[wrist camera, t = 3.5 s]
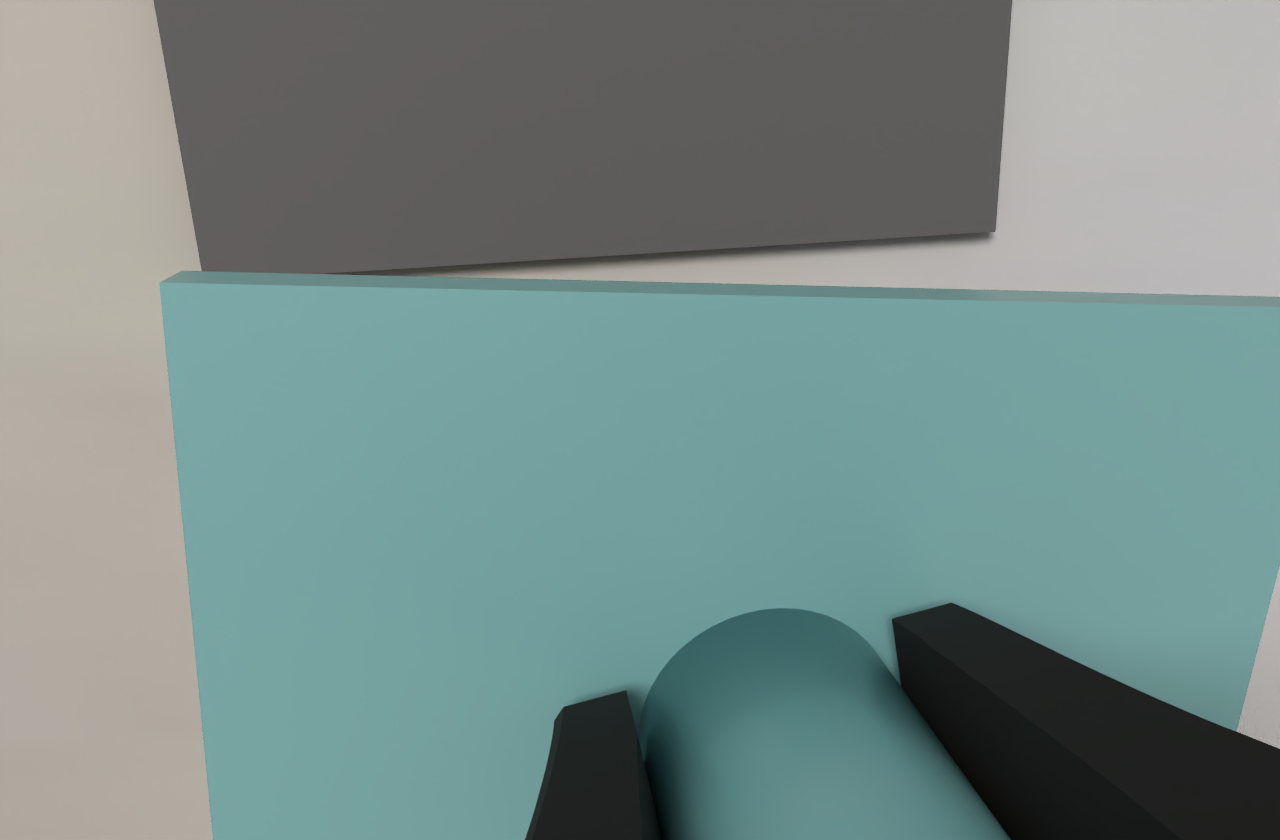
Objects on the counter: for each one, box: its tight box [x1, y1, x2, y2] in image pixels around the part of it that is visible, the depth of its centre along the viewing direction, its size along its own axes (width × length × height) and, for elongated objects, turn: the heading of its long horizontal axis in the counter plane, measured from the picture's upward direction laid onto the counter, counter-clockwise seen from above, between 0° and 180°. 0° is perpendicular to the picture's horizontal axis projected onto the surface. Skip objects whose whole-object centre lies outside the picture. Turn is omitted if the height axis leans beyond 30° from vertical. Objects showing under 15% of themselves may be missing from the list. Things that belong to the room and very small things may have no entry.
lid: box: [160, 271, 1280, 840], centre depth 9 cm, size 11×9×5 cm
